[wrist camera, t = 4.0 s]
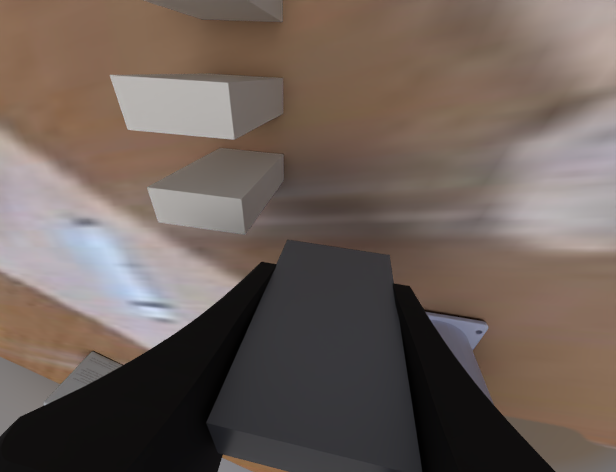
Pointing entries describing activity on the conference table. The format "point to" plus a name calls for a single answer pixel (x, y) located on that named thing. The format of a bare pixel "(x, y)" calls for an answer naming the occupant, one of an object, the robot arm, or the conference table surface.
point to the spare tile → (321, 370)
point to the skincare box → (84, 375)
